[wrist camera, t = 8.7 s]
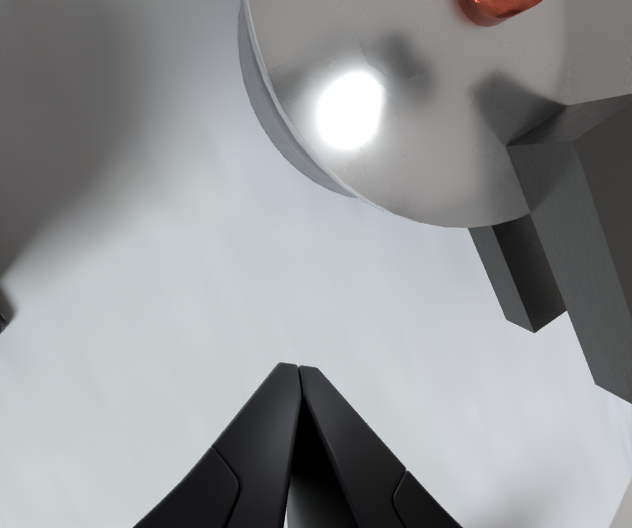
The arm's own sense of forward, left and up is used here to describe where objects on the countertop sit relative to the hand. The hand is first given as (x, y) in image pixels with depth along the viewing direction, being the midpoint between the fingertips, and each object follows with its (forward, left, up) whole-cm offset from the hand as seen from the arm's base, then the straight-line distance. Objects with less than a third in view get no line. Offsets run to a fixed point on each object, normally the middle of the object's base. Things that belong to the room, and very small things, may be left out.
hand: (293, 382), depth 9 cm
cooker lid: (+12, +3, -6) cm, 14 cm away
